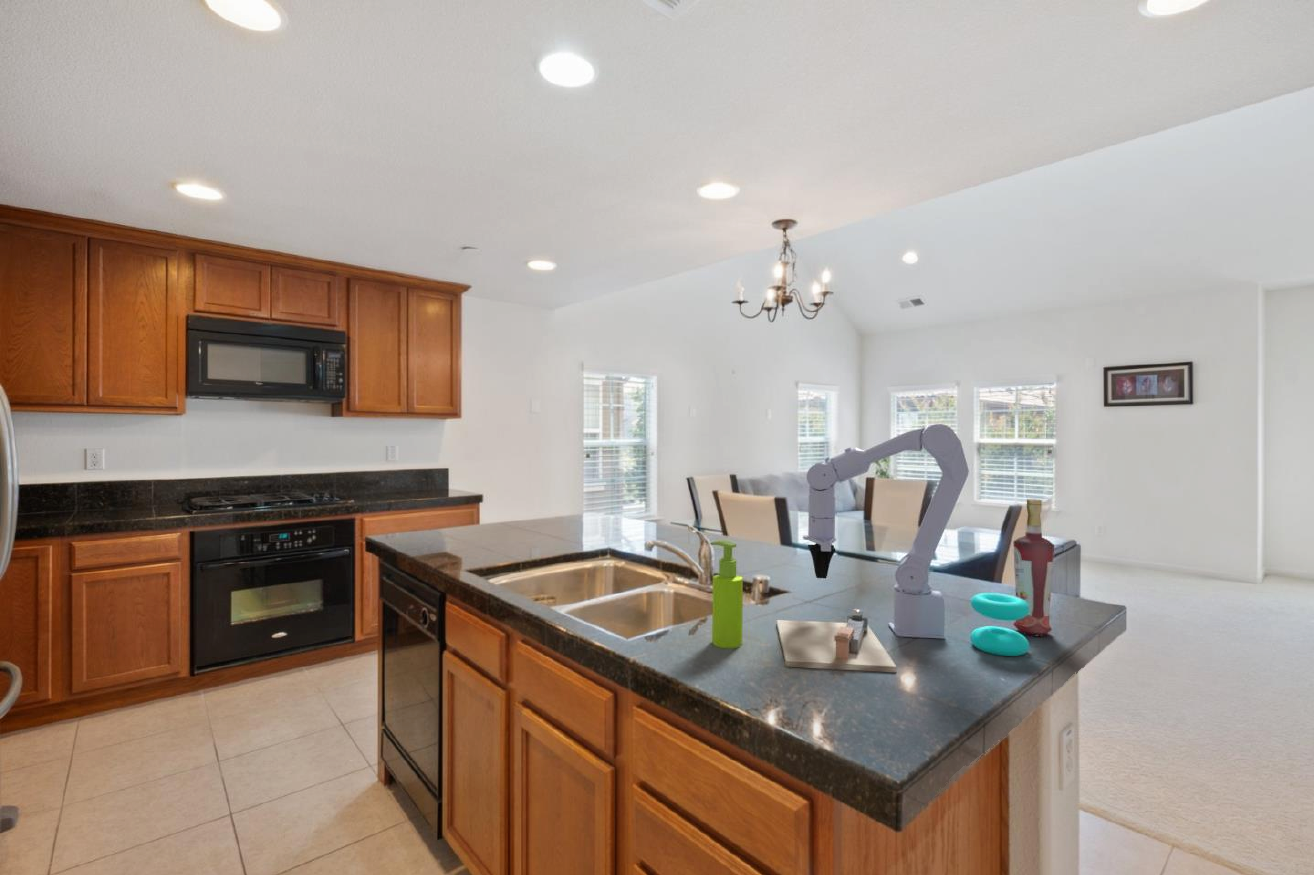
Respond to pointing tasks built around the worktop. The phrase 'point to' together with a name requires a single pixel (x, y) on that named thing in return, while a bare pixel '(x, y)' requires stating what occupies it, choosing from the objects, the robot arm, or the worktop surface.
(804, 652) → the hinge board
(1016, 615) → the donuts
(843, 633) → the block
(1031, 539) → the liquor
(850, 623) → the link
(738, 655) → the worktop surface
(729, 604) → the soap dispenser
